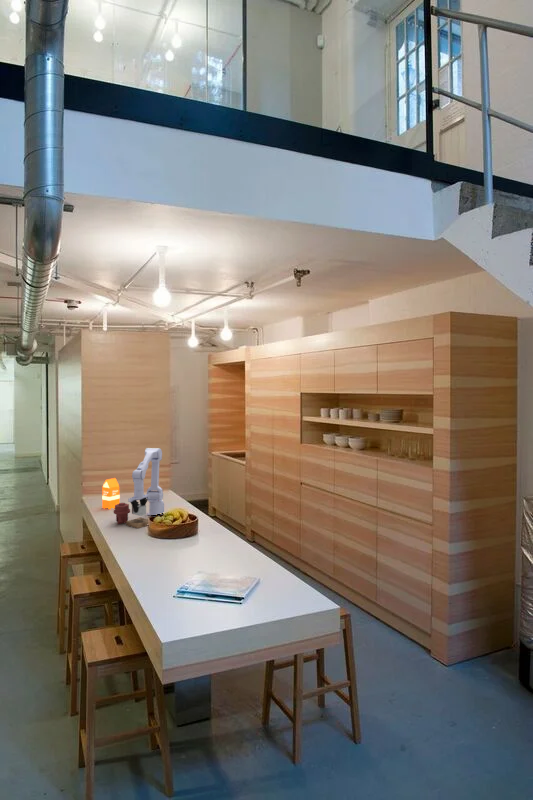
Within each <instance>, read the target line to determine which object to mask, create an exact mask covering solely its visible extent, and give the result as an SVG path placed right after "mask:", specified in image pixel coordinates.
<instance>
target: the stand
mask: <svg viewBox="0 0 533 800" xmlns="http://www.w3.org/2000/svg"><path fill="white" fill-rule="evenodd" d="M148 519H149V518H144V517H141V516H139V517H137V518H133V519H130V520H129V519H128V521H126V524H125V526H127V525H128V527H131V526H132V528H134V527H135V528H134V529H142V528H143V527H148V526H147V524H148Z"/></svg>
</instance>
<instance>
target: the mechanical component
mask: <svg viewBox="0 0 533 800" xmlns="http://www.w3.org/2000/svg"><path fill="white" fill-rule="evenodd" d="M129 513H131V509H130V504H129V503H125V502H120V503H119V504H116V505H115V508H114V509H113V515H115V521H116V524H117V525H123V524H122V523H126V521H129Z"/></svg>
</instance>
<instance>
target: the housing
mask: <svg viewBox="0 0 533 800" xmlns="http://www.w3.org/2000/svg"><path fill="white" fill-rule="evenodd" d="M131 515H135V516H138V517H141V516H145V515H147V504H146V505H141V504H140V503H138V511H137V513H135V512H134V509H133V506H132V505H131Z"/></svg>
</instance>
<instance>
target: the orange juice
mask: <svg viewBox="0 0 533 800" xmlns="http://www.w3.org/2000/svg"><path fill="white" fill-rule="evenodd" d="M101 488H102V489H101V491H102V493H101V497H102V502H101V503H102V504H101V506H102V509H105V508H108V509H107V510H112V509H111V508H113V509H115V505H116V504H119V503H121V501H120V499H121V495H120V494H121V493H120V484H119V483H118V481H117V479H116V477H113V478H107V479H105V481H104V482H103V485H102V487H101Z"/></svg>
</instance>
